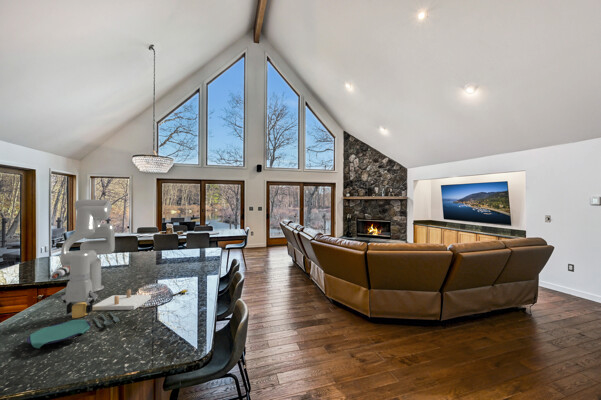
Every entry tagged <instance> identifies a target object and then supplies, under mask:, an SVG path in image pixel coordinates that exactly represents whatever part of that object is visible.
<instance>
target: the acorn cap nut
mask: <svg viewBox="0 0 601 400" xmlns="http://www.w3.org/2000/svg"><path fill="white" fill-rule="evenodd" d="M73 304H74V305H72V312H71V317H72V319H78V318H79V319H80V318H82V317H85V316H87V315H88V313H86V305H87V304H86V302H85V301H84V302H75V303H73Z"/></svg>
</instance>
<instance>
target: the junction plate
mask: <svg viewBox="0 0 601 400" xmlns="http://www.w3.org/2000/svg"><path fill="white" fill-rule="evenodd" d="M151 299H152V294H132V289H126V294H125V295H124V294H121V295H120V294H119V295H117V294H116V295H111V296H109V297H107V298H105V299H103V300H101V301H99V302H97V303H95V304H93V309H92V311H120V310H121V311H123V310H126V311H128V310H136V309H137V308H139V307H140V306H142V305H143V304H144V303H146V302H147V301H149V300H151Z"/></svg>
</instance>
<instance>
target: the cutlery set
mask: <svg viewBox="0 0 601 400" xmlns="http://www.w3.org/2000/svg"><path fill="white" fill-rule="evenodd" d="M109 315H110V316H111V318H112V320H111V319H107V318H106V317H105V315H104V314H103V313H101V314H100V316H101V318H102V319H103V320H104V321H103V325H105V326H108V325H111V324H112V323H113V322H115V323H119V322H121V320H120V319H119V317H118V316H115V315H114V314H113V312H112V311H109ZM92 319H93V320H94V321H95V324H96V325H97V327H98V328H102V325H101V324H100V321H99V319H96V317H95V316H93V317H92ZM90 328H91V322H90V321H89V320H86V319H73V320H68V321H64V322H60V323H56V324H54V325H53V324H52V325H50V326H47V327H42V328H40V329H38V330H36V331H35V332H32V333H31V334H29V336H28V337H27V338H26V342H27V343H28V344H29V345H31V346H32V347H33V348H35V349H40V348H41V347H42V346H44V345H48V344H54V343H57V342H61V341H66V340H67V339H68V340H69V339H70V338H74V337H76V336H78V335H80V334H82V335H83V334H84V333H86V332H88V331H89V330H90Z"/></svg>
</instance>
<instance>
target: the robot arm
mask: <svg viewBox="0 0 601 400" xmlns="http://www.w3.org/2000/svg"><path fill="white" fill-rule="evenodd" d="M73 206H74V209H75V211H76V216H75V226H74V227H75V228H74V232H73V233H72V234H71V235H70V236H68V237H67V238H66V240H65V241H64V242H63V243H62V246H61V250H60V259H59V261H60V265H61V266H62V265H63V266H70V272H69V275H68V277H67V279H69V281H68V282H67V284H66V287H65V288H66V290H65V294H63V295H62V296H61V297H60V298H61V300H62V302H63V303H64V305H65V306H66V315H67V314H68V315H69V314H72V305H74V304H75V303H80V302H86V304H87V305H86V313H87V314H89V313H91V312H93V310H92V309H93V305H94V303H95V302H96V301H97V299H98V298H99V295H98V294H97V293H96V292H99V291H101V290H103V289H105V285H103V284H102V261H101V259H100V257H98V256H100V255H101V256H102V255H109V254H113V253H114V252H115V248H116V243H115V242H116V240H115V239H116V238H115V237H116V236H115V235H116V233H115V232H116V231H115V227H114V225H113V224H112V223H101V221H106V220H108V219H109V218H110V216H111V211H112V202H111V201H110V200H108V199H78V200H76V201H75V202H74V205H73ZM83 239H85V240H86V241H83V242H82V243H81V244H80V247H79V249H80V250H70V248H71V246H72V245H73V244H74V243H76V242H78V241H81V240H83Z"/></svg>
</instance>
